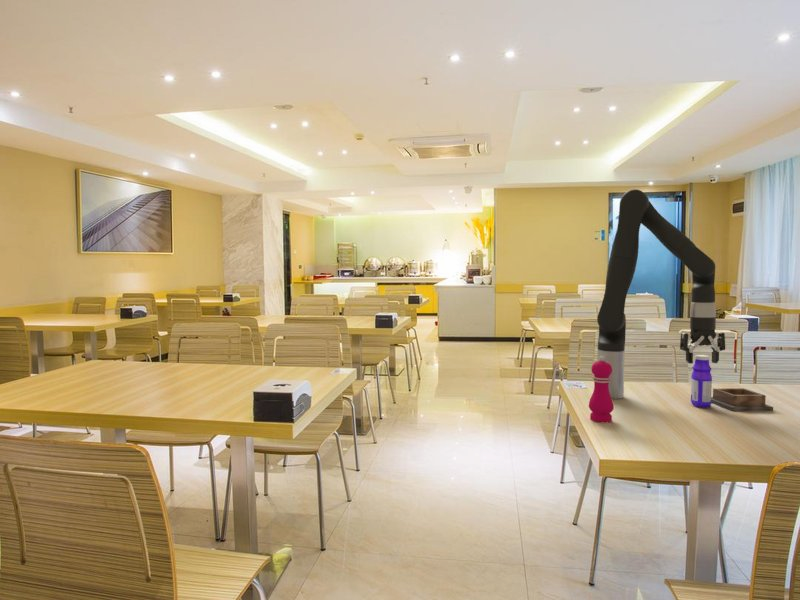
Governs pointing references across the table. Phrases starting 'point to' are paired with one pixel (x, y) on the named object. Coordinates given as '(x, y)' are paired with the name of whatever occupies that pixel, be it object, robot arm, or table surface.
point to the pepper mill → (601, 392)
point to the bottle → (701, 382)
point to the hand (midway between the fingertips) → (702, 363)
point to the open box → (739, 400)
